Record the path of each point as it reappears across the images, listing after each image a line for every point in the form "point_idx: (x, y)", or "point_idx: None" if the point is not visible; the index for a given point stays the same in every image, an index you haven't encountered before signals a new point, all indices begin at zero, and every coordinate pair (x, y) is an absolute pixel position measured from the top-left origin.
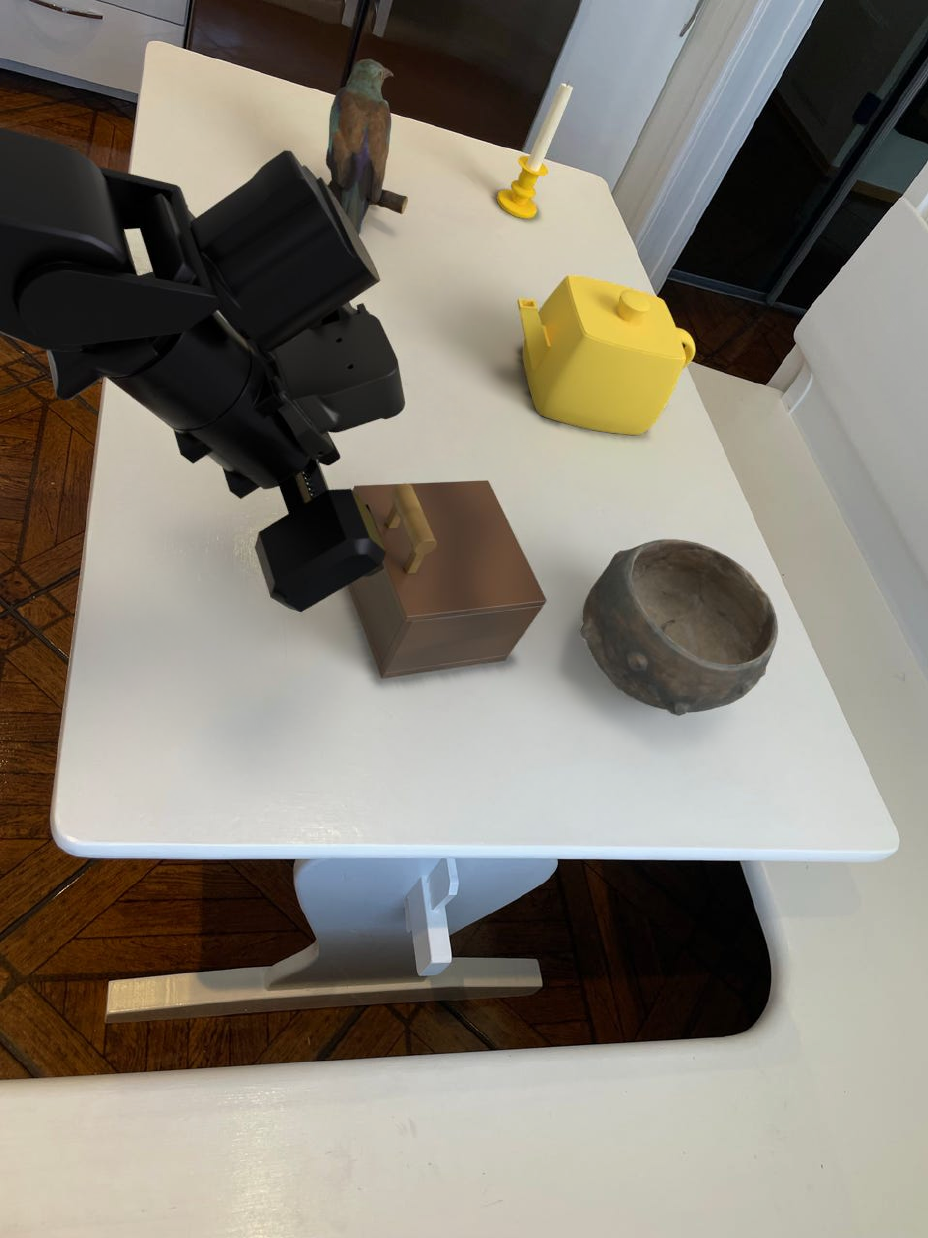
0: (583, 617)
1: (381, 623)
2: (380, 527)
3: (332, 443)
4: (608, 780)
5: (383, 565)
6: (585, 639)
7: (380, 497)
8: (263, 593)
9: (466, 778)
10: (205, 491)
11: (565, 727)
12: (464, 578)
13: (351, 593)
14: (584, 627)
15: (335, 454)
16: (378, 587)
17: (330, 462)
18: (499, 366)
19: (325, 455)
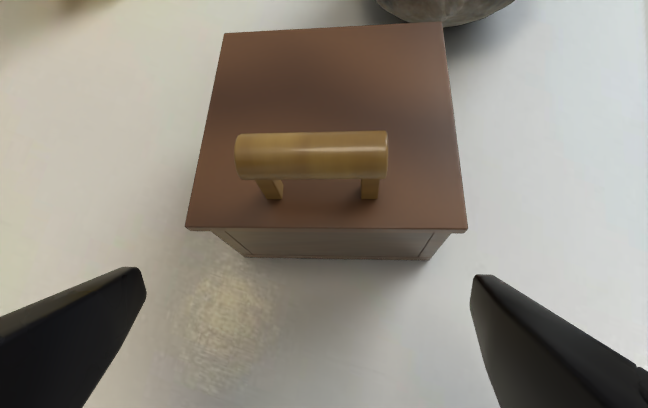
0: (415, 11)
1: (386, 246)
2: (277, 211)
3: (91, 294)
4: (571, 66)
5: (495, 278)
6: (446, 18)
7: (218, 191)
8: (282, 373)
9: (569, 207)
10: (107, 402)
11: (505, 85)
12: (394, 114)
13: (306, 257)
14: (442, 9)
15: (125, 282)
16: (346, 237)
17: (141, 292)
18: (59, 8)
19: (120, 310)
